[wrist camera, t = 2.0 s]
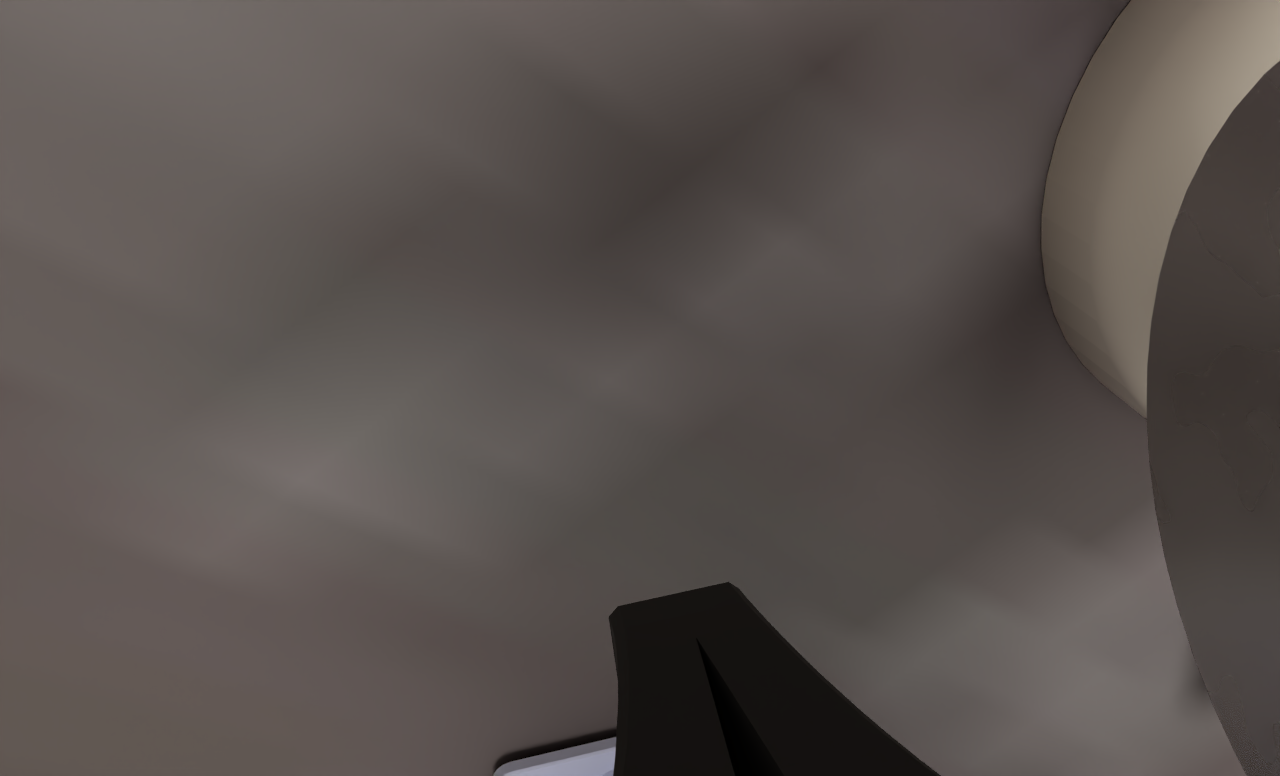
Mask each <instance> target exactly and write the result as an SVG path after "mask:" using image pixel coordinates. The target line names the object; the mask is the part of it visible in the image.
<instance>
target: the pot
mask: <svg viewBox="0 0 1280 776" xmlns="http://www.w3.org/2000/svg"><path fill="white" fill-rule="evenodd" d="M1279 61H1280V0H1131V1H1130V2H1129V4H1128V5H1127V6H1126V8H1125V9H1124V10H1123V11H1122V13H1121V14H1120V15H1119V16H1118V18H1117V19H1116V21H1115V22H1114V24H1113V25H1112V27H1111V29H1110V30H1109V32H1108V33H1107V35H1106V37H1105V38H1104V40H1103V41H1102V43H1101V44H1100V46H1099V48H1098V49H1097V51H1096V52H1095V54H1094V55H1093V57H1092V59H1091V61H1090V63H1089V65H1088V67H1087V69H1086V71H1085V73H1084V75H1083V77H1082V79H1081V81H1080V83H1079V85H1078V87H1077V89H1076V91H1075V93H1074V95H1073V97H1072V99H1071V102H1070V105H1069V107H1068V110H1067V112H1066V115H1065V118H1064V120H1063V123H1062V126H1061V128H1060V131H1059V134H1058V136H1057V140H1056V144H1055V147H1054V151H1053V155H1052V159H1051V163H1050V167H1049V171H1048V175H1047V180H1046V187H1045V194H1044V202H1043V209H1042V231H1041V253H1042V260H1043V268H1044V276H1045V284H1046V288H1047V291H1048V295H1049V298H1050V302H1051V305H1052V309H1053V313H1054V315H1055V318H1056V320H1057V322H1058V324H1059V326H1060V328H1061V330H1062V333H1063V335H1064V337H1065V339H1066V341H1067V343H1068V344H1069V346H1070V347H1071V348H1072V350H1073V351H1074V353H1075V354H1076V356H1077V357H1078V359H1079V360H1080V361H1081V363H1082V364H1083V365H1084V366H1085V367H1086V368H1087V369H1088V370H1089V371H1090V372H1091V373H1092V374H1093V375H1094V376H1095V377H1096V378H1097V379H1098V380H1099V381H1100V382H1101V383H1102V384H1103V385H1104V386H1105V387H1107V388H1108V389H1109V390H1110V391H1112V392H1113V393H1114V394H1115V395H1117V396H1118V397H1119V398H1120V399H1122V400H1123V401H1124V402H1125V403H1127V404H1128V405H1129V406H1130V407H1132V408H1133V409H1134V410H1135V411H1137V412H1138V413H1139V414H1140V415H1142V416H1143V417H1144V418H1145V419H1147V414H1146V413H1147V363H1148V352H1149V341H1150V329H1151V320H1152V314H1153V308H1154V303H1155V297H1156V291H1157V285H1158V279H1159V275H1160V271H1161V267H1162V264H1163V260H1164V256H1165V252H1166V249H1167V245H1168V241H1169V237H1170V234H1171V231H1172V228H1173V225H1174V223H1175V220H1176V217H1177V215H1178V212H1179V209H1180V207H1181V204H1182V201H1183V199H1184V196H1185V193H1186V191H1187V189H1188V187H1189V185H1190V183H1191V181H1192V179H1193V177H1194V175H1195V173H1196V171H1197V169H1198V167H1199V165H1200V163H1201V161H1202V159H1203V157H1204V155H1205V153H1206V151H1207V149H1208V147H1209V146H1210V144H1211V143H1212V141H1213V140H1214V138H1215V137H1216V135H1217V134H1218V132H1219V131H1220V129H1221V128H1222V126H1223V125H1224V123H1225V122H1226V120H1227V119H1228V117H1229V116H1230V114H1231V113H1232V111H1233V110H1234V109H1235V107H1236V106H1237V105H1238V104H1239V103H1240V102H1241V100H1242V99H1243V98H1244V97H1245V96H1246V95H1247V94H1248V92H1249V91H1250V90H1251V89H1252V88H1253V87H1254V85H1255V84H1256V83H1257V82H1258V81H1259V80H1260V78H1261V77H1262V76H1263V75H1264V74H1265V73H1266V72H1267V71H1268V70H1270V69H1271V68H1272V67H1273V66H1274V65H1275V64H1276V63H1278V62H1279Z"/></svg>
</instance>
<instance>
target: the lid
mask: <svg viewBox="0 0 1280 776" xmlns="http://www.w3.org/2000/svg"><path fill="white" fill-rule="evenodd" d="M1146 414H1147V431H1148V448H1149V463H1150V471H1151V479H1152V487H1153V494H1154V502H1155V510H1156V515H1157V520H1158V525H1159V530H1160V536H1161V541H1162V546H1163V551H1164V556H1165V560H1166V564H1167V568H1168V572H1169V576H1170V580H1171V584H1172V587H1173V591H1174V595H1175V599H1176V603H1177V607H1178V610H1179V613H1180V616H1181V619H1182V622H1183V625H1184V628H1185V631H1186V634H1187V637H1188V641H1189V644H1190V647H1191V650H1192V653H1193V656H1194V658H1195V661H1196V663H1197V666H1198V669H1199V671H1200V674H1201V676H1202V679H1203V681H1204V684H1205V686H1206V689H1207V692H1208V694H1209V697H1210V699H1211V702H1212V704H1213V707H1214V709H1215V711H1216V713H1217V715H1218V717H1219V720H1220V722H1221V724H1222V726H1223V728H1224V730H1225V733H1226V735H1227V737H1228V739H1229V741H1230V743H1231V746H1232V748H1233V750H1234V752H1235V754H1236V756H1237V758H1238V760H1239V762H1240V764H1241V766H1242V767H1243V769H1244V771H1245V773H1246V775H1247V776H1280V61H1279V62H1278V63H1276V64H1275V65H1274V66H1273V67H1272V68H1271V69H1270V70H1268V71H1267V72H1266V73H1265V74H1264V75H1263V76H1262V77H1261V78H1260V80H1259V81H1258V82H1257V83H1256V84H1255V85H1254V87H1253V88H1252V89H1251V90H1250V91H1249V92H1248V94H1247V95H1246V96H1245V97H1244V98H1243V99H1242V100H1241V102H1240V103H1239V104H1238V105H1237V106H1236V107H1235V109H1234V110H1233V111H1232V113H1231V114H1230V116H1229V117H1228V119H1227V120H1226V122H1225V123H1224V125H1223V126H1222V128H1221V129H1220V131H1219V132H1218V134H1217V135H1216V137H1215V138H1214V140H1213V141H1212V143H1211V144H1210V146H1209V147H1208V149H1207V151H1206V153H1205V155H1204V157H1203V159H1202V161H1201V163H1200V165H1199V167H1198V169H1197V171H1196V173H1195V175H1194V177H1193V179H1192V181H1191V183H1190V185H1189V187H1188V189H1187V191H1186V193H1185V196H1184V199H1183V201H1182V204H1181V207H1180V209H1179V212H1178V215H1177V217H1176V220H1175V223H1174V225H1173V228H1172V231H1171V234H1170V237H1169V241H1168V245H1167V249H1166V252H1165V256H1164V260H1163V264H1162V267H1161V271H1160V275H1159V279H1158V285H1157V291H1156V297H1155V303H1154V308H1153V314H1152V320H1151V329H1150V341H1149V352H1148V363H1147V413H1146Z"/></svg>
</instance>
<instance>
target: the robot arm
mask: <svg viewBox="0 0 1280 776" xmlns="http://www.w3.org/2000/svg"><path fill="white" fill-rule="evenodd" d="M609 622H610V629H611V636H612V643H613V649H614V656H615V663H616V670H617V677H618V718H617V734H616V737H613V738H609V739H605V740H601V741H596V742H592V743H588V744H584V745H579V746H575V747H571V748H567V749H562V750H558V751H554V752H550V753H545V754H541V755H537V756H533V757H528V758H524V759H520V760H516V761H511V762H509V763H506V764H503V765H502V766H501V767H499V768H498V769H497V770H496V771H495V773H494V775H493V776H940V775H939V774H938V773H936V772H935V771H934V770H933V769H931V768H930V767H929V766H927V765H926V764H925V763H923V762H922V761H921V760H920V759H918V758H917V757H916V756H915V755H913V754H912V753H911V752H910V751H908V750H907V749H906V748H905V747H903V746H902V745H901V744H900V743H898V742H897V741H896V740H895V739H894V738H892V737H891V736H890V735H889V734H887V733H886V732H885V731H884V730H883V729H881V728H880V727H879V726H878V725H877V724H876V723H874V722H873V721H872V720H871V719H870V718H869V717H867V716H866V715H865V714H864V713H863V712H862V711H860V710H859V709H858V708H857V707H856V706H855V705H854V704H853V703H852V702H851V701H849V700H848V699H847V698H846V697H845V696H844V695H843V694H842V693H841V692H840V691H838V690H837V689H836V688H835V687H834V686H833V685H832V684H831V683H830V682H829V681H827V680H826V679H825V678H824V677H823V676H822V675H821V674H820V673H819V672H818V671H817V670H816V669H815V668H814V667H813V666H812V665H810V664H809V663H808V662H807V661H806V660H805V659H804V658H803V657H802V656H801V655H800V654H799V653H798V652H797V651H796V650H795V649H794V648H793V647H792V646H791V645H790V644H789V643H788V642H787V641H786V640H785V639H784V638H783V637H782V636H781V635H780V634H779V632H778V631H777V630H776V629H775V628H774V627H773V626H772V625H771V624H770V623H769V622H768V621H767V620H766V619H765V618H764V617H763V615H762V614H761V613H760V612H759V611H758V610H757V609H756V608H755V607H754V606H753V604H752V603H751V602H750V601H749V600H748V599H747V598H746V597H745V595H744V594H743V593H742V592H741V591H740V589H738V588H737V587H735V586H734V585H732V584H731V583H729V582H726V583H722V584H717V585H713V586H708V587H704V588H699V589H695V590H690V591H685V592H681V593H676V594H672V595H667V596H663V597H658V598H654V599H649V600H645V601H640V602H635V603H631V604H626V605H622V606H618V607H617V608H616V609H615V610H614V612H613V613H612V614H611V615H610V616H609Z"/></svg>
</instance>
